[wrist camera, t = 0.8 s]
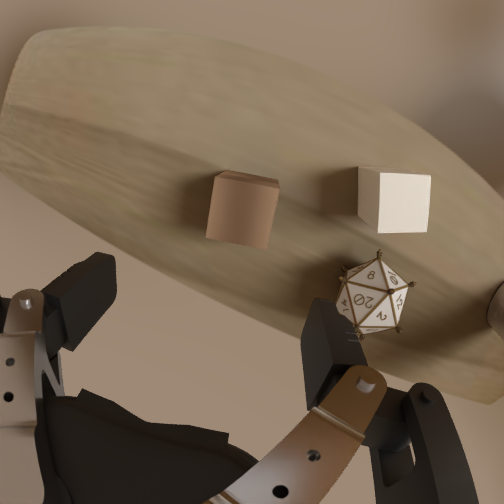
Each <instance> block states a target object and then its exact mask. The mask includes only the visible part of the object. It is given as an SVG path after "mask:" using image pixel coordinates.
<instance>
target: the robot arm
mask: <svg viewBox="0 0 504 504" xmlns="http://www.w3.org/2000/svg"><path fill="white" fill-rule="evenodd" d="M116 294H117V284H116V262H115V258H114V256H112V255H109V254H105V253H101V252H96V253H94V254H93V255H91V256H90V257H89V258H87V259H86V260H84V261H82V262H79V263H77V264H74V265H73V266H71V267H70V268H69V269H67V271H65V272H64V273H62V274H61V275H60V276H58V277H57V278H56V279H55V280H53V281H52V282H51V283H50V284H48V285H47V286H46V287H45V288H43V289H42V290H41V291H39V290H36V289H26V290H22V291H20V292H18V293H16V294H15V295H14V296H13V297H12V298H11V299H9V298H3V297H1V296H0V504H319V503H320V502H321V500H322V499H323V498H324V497H325V496H326V494H327V493H328V492H329V490H330V489H331V487H332V486H333V485H334V484H335V482H336V481H337V480H338V478H339V477H340V475H341V474H342V473H343V471H344V470H345V468H346V467H347V465H348V464H349V462H350V461H351V459H352V458H353V456H354V455H355V453H356V451H357V450H358V448H359V447H360V445H364V446H368V447H369V448H370V455H371V463H372V471H373V479H374V486H375V497H376V504H479V502H478V498H477V494H476V490H475V486H474V482H473V479H472V475H471V472H470V468H469V465H468V462H467V459H466V456H465V453H464V450H463V447H462V444H461V441H460V439H459V436H458V433H457V430H456V428H455V425H454V423H453V420H452V418H451V415H450V413H449V410H448V408H447V406H446V403H445V401H444V399H443V396H442V395H441V393H440V392H439V391H438V390H437V389H436V388H435V387H433V386H432V385H430V384H427V383H416V384H414V385H413V386H412V387H411V389H410V390H409V391H408V392H404V391H400V390H397V389H393V388H390V387H387V383H386V380H385V378H384V377H383V375H382V374H381V373H379V372H378V371H377V370H375V369H373V368H371V367H368V364H367V361H366V358H365V356H364V353H363V350H362V347H361V345H360V342H359V339H358V337H357V335H356V331H355V329H354V326H353V324H352V323H351V322H350V321H349V320H348V318H347V317H346V316H345V315H339V312H338V309H337V306H336V304H335V302H334V301H332V300H326V299H320V298H315V299H314V300H313V302H312V305H311V308H310V311H309V314H308V317H307V320H306V322H305V325H304V328H303V331H302V335H301V353H302V362H303V371H304V381H305V391H306V402H307V410H308V411H310V412H309V413H308V414H307V415H306V416H305V417H304V418H303V419H302V420H301V421H300V422H299V423H298V424H297V425H296V426H295V428H294V429H293V430H292V431H291V432H290V433H289V434H288V435H287V436H286V437H285V438H284V439H283V440H282V441H281V442H279V443H278V444H277V445H276V446H275V447H274V448H273V449H272V450H271V451H270V452H269V453H268V454H267V455H266V456H265V457H264V458H262V459H261V460H260V461H258V460H257V459H255V458H254V457H253V456H251V455H250V454H248V453H247V452H245V451H244V450H242V449H240V448H238V447H236V446H233V445H231V444H229V443H228V437H229V433H225V432H220V431H214V430H209V429H204V428H200V427H195V426H191V425H177V424H160V423H150V422H146V421H144V420H142V419H140V418H138V417H137V416H135V415H133V414H132V413H130V412H129V411H127V410H126V409H124V408H123V407H121V406H119V405H118V404H116V403H115V402H113V401H111V400H108V399H106V398H103V397H101V396H99V395H96V394H94V393H92V392H89V391H87V390H85V389H82V390H81V391H80V393H79V394H78V396H77V397H72V396H65V393H64V386H63V378H62V368H61V357H60V353H59V350H60V348H61V347H63V348H65V349H67V350H70V351H74V350H75V348H76V347H77V346H78V345H79V343H80V342H81V341H82V340H83V338H84V337H85V336H86V335H87V333H88V332H89V331H90V330H91V329H92V327H93V326H94V325H95V324H96V323H97V321H98V320H99V319H100V318H101V316H102V315H103V314H104V313H105V312H106V311H107V309H108V308H109V307H110V306H111V305H112V304H113V302H114V300H115V298H116ZM487 320H488V323H489V325H490V326H491V327H492V328H493V329H494V330H495V331H496V333H497V334H498V335H499V336H500V337H501V339H502V340H503V341H504V283H503V284H502V285H501V286H500V288H499V289H498V290H497V292H496V293H495V295H494V297H493V299H492V301H491V303H490V305H489V309H488V313H487ZM411 442H412V446H413V450H414V454H415V460H416V461H415V466H414V462H413V458H412V454H411V449H410V445H409V444H410V443H411Z"/></svg>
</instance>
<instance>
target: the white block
mask: <svg viewBox="0 0 504 504" xmlns="http://www.w3.org/2000/svg"><path fill="white" fill-rule="evenodd" d="M430 184H431V175H427V174H423V173H419V172H415V171H411V170H407V169H403V168H389V167H362V166H358V216H359V217H360V218H361V219H363V220H364V221H365V222H366V223H367V224H368V225H369V226H370V227H372V228H373V229H374V230H375V231H376V232H377V233H401V232H427V224H428V214H429V201H430Z"/></svg>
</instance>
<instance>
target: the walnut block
mask: <svg viewBox="0 0 504 504" xmlns="http://www.w3.org/2000/svg"><path fill="white" fill-rule="evenodd" d="M279 191H280V187H279V182H278V180H276V179H271V178H266V177H261V176H256V175H251V174H246V173H241V172H235V171H230V170H226V171H224V172H223V173H221V174H219V175H217V176H215V180H214V186H213V192H212V198H211V205H210V211H209V218H208V225H207V232H206V238H211V239H216V240H221V241H226V242H231V243H236V244H241V245H245V246H250V247H255V248H260V249H265V250H266V249H267V245H268V240H269V236H270V231H271V227H272V223H273V218H274V214H275V209H276V205H277V200H278V195H279Z"/></svg>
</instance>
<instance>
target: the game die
mask: <svg viewBox="0 0 504 504" xmlns="http://www.w3.org/2000/svg"><path fill="white" fill-rule="evenodd" d="M381 254H382V252H381V249H379V251H378V252H377V254H376V255H377V258H375V259H373V260H371V261H368V262H366V263H363V264H361V265H359V266H356V267H354V268H351V269H349V270H348V269H347V267H346V266H342V270H343V271H345V272H346V273H345V276H344V277H343V276H342V277H339V279H340V282H342V284H341V287H340V290H339V293H338V295H337V298H336V301H335V304H336V306H337V309H338V312H339V315H345V316H346V317H347V318H348V320H349V321H350V322H351V323H352V324H353V326H354V329H355V331H356V332H357V331H358V332H359V333H361V335H360V337H359V339H360V341H362V340H363V339H364V337H365V336H364V335H365V334H370V333H375V332H380V331H385V330H389V329H394V328H396V331H397V332H398V333H402V329H401V328H400V327H399V326H398V324H399V321H400V317H401V314H402V311H403V307H404V304H405V300H406V296H407V292H408V289H409V287H414V285H415V284H416V282H413V281H412V282H410V283H409V284H408V283H406V282H405V281H404V280H403V279H402V278H401V277H400V276H399V275H398V274H397V273H396V272H395V271H394V270H393V269H391V268H390V267H389V266H388V265H387V264H386V263H385V262H384V261H383V260H382V259H380V257H381V256H382V255H381Z"/></svg>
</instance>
